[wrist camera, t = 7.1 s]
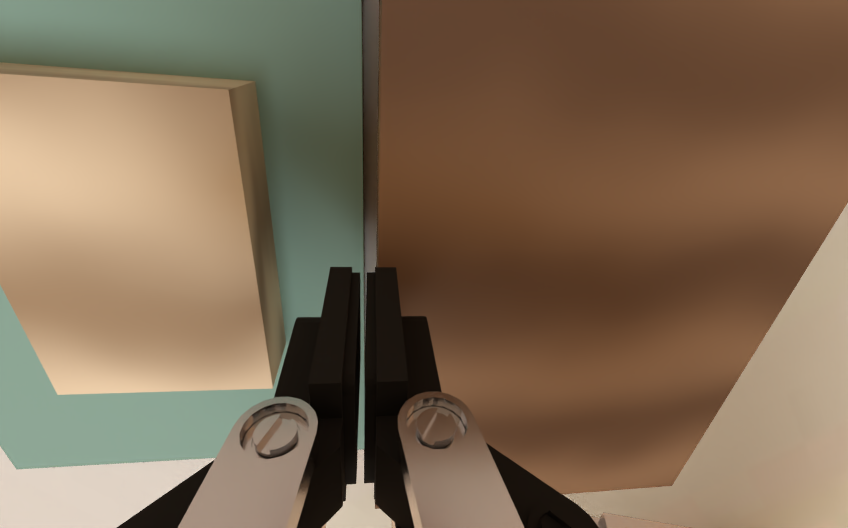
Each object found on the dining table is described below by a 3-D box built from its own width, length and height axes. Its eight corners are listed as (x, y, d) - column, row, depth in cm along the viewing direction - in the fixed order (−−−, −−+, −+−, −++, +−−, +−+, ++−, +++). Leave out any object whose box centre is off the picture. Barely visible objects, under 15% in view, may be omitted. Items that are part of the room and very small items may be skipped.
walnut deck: (624, 416, 22) (671, 485, 19) (374, 429, 20) (375, 508, 17) (861, -100, 11) (1072, -161, 8) (381, -171, 10) (385, -293, 6)
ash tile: (57, 394, 13) (102, 345, 15) (272, 388, 14) (285, 342, 16) (-114, 65, 8) (-15, 61, 11) (228, 89, 9) (255, 81, 12)
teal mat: (365, 442, 21) (364, 449, 20) (23, 461, 19) (16, 469, 18) (360, -236, 9) (359, -246, 9) (-552, -390, 7) (-599, -413, 7)
